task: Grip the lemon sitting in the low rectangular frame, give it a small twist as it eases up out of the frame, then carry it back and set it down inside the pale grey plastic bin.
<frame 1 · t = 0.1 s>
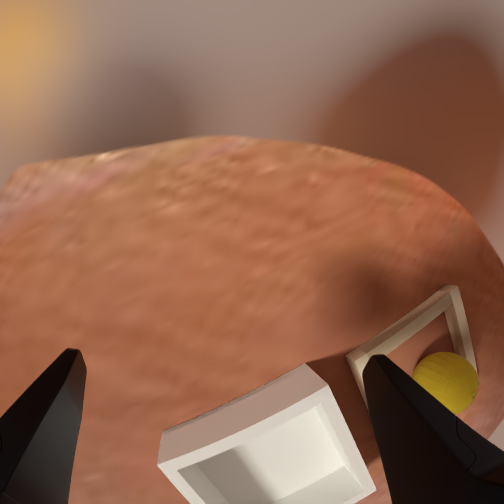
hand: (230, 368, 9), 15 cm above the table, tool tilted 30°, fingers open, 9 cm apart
bin: (267, 454, 24), on the table
lemon: (416, 370, 27), resting in rectangular frame
rectangular frame: (418, 371, 27), on the table
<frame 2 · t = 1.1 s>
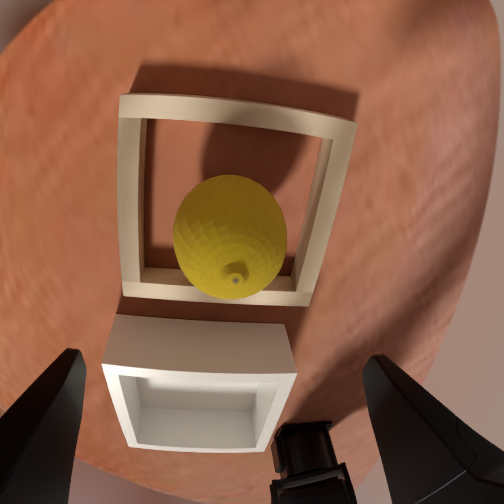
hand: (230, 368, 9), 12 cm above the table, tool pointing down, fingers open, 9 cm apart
bin: (197, 373, 27), on the table
lemon: (226, 201, 20), resting in rectangular frame
rectangular frame: (226, 202, 19), on the table
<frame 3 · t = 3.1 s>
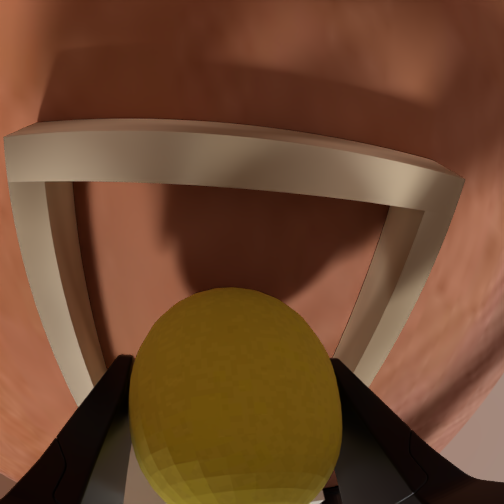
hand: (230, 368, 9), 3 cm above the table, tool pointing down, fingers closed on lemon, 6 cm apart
bin: (195, 467, 19), on the table
lemon: (225, 302, 12), resting in rectangular frame, touching gripper
rectangular frame: (225, 305, 11), on the table
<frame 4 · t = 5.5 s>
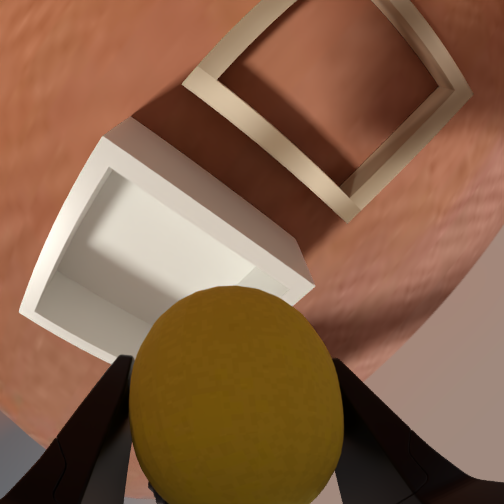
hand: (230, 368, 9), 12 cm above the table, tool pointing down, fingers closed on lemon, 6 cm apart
bin: (158, 253, 21), on the table
lemon: (225, 300, 12), point 9 cm above the table, touching gripper
rectangular frame: (342, 75, 16), on the table
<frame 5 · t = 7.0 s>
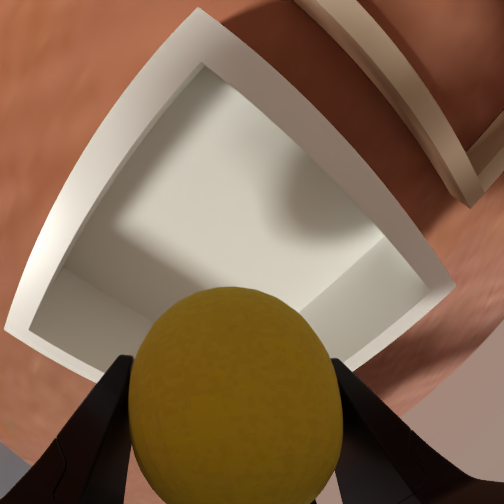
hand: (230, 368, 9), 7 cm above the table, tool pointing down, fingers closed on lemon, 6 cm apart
bin: (220, 243, 15), on the table
lemon: (225, 301, 12), point 4 cm above the table, touching gripper
rectangular frame: (464, 31, 10), on the table
when the fingers open (5 cm above the table, at t = 8.2 s): lemon drops 1 cm, resting on bin.
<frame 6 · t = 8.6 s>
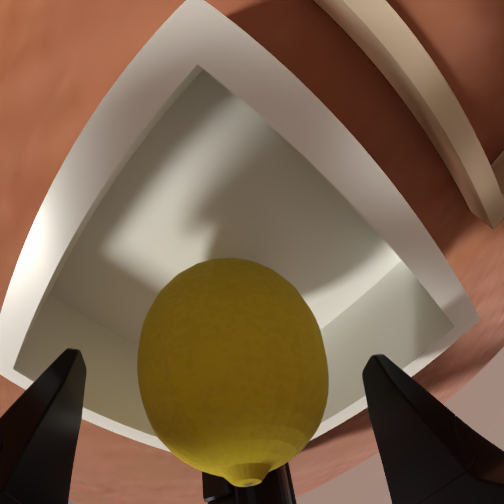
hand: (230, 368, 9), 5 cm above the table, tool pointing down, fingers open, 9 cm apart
bin: (222, 270, 13), on the table
lemon: (222, 276, 13), resting on bin
rectangular frame: (490, 35, 9), on the table
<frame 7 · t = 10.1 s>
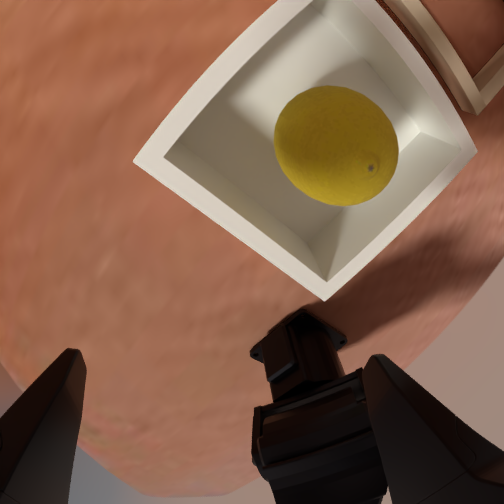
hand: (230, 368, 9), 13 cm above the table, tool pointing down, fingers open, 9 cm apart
bin: (307, 126, 18), on the table
lemon: (309, 127, 18), resting on bin
rectangular frame: (461, 0, 13), on the table
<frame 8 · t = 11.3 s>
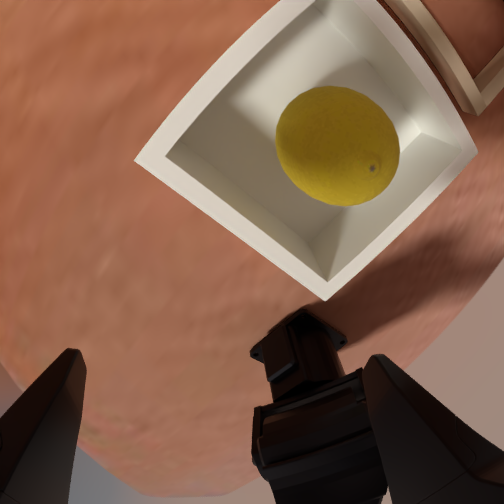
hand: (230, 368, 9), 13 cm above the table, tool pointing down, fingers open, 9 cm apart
bin: (308, 126, 18), on the table
lemon: (310, 127, 18), resting on bin
rectangular frame: (462, 2, 14), on the table
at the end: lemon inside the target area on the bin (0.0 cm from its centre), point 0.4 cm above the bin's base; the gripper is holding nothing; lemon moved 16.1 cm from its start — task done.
